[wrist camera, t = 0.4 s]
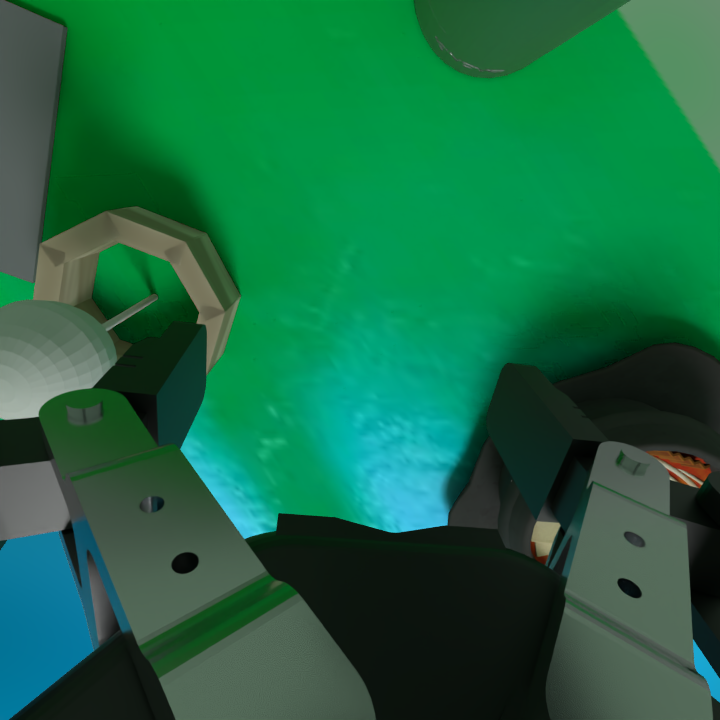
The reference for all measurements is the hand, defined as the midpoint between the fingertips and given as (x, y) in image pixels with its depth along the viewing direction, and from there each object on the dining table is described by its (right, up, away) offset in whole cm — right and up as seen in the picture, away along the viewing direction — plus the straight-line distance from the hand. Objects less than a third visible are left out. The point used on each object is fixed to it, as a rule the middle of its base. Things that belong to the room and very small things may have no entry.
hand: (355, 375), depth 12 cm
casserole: (+18, -8, +26) cm, 33 cm away
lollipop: (-15, +5, +20) cm, 25 cm away
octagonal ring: (-15, +5, +20) cm, 25 cm away
